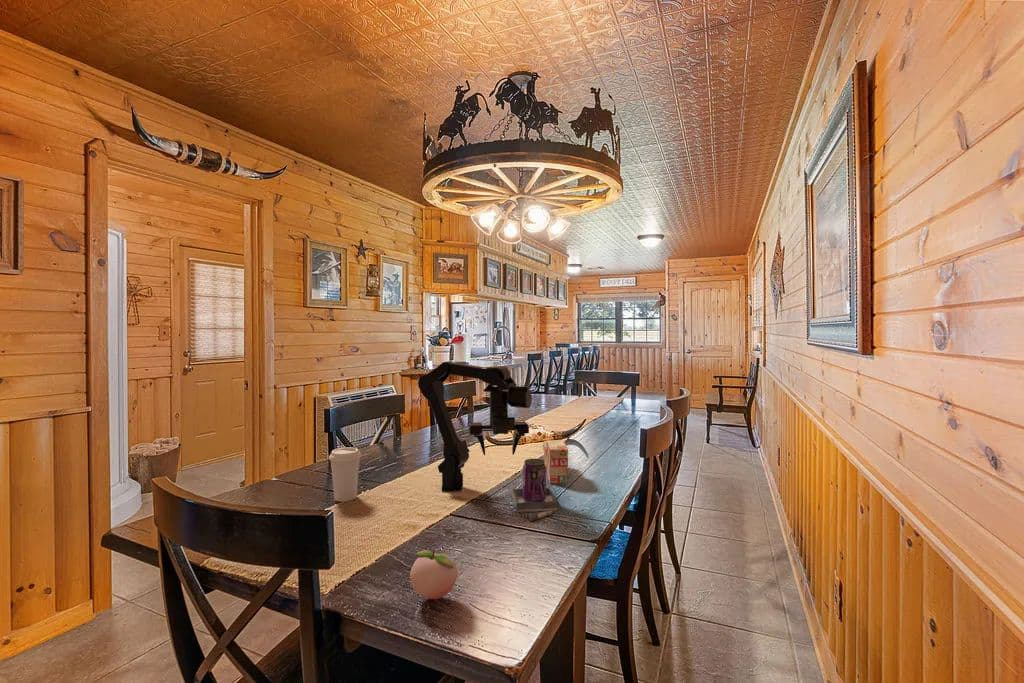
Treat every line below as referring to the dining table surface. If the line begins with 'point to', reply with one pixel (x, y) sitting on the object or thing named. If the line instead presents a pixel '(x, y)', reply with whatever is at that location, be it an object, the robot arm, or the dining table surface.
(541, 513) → the pin gauge
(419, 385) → the robot arm
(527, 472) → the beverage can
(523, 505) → the tray
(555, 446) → the stack of blocks
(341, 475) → the coffee cup
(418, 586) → the decorative fruit
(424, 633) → the dining table surface
